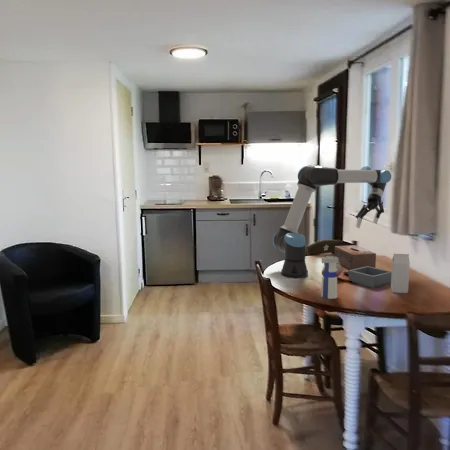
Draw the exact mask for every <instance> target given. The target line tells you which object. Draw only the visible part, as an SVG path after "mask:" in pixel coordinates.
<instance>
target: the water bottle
mask: <svg viewBox="0 0 450 450" xmlns="http://www.w3.org/2000/svg"><path fill="white" fill-rule="evenodd" d="M329 247H330V246H329V245H328V244H325V246H323V248H324V249H323V251H328V248H329ZM338 261H339V259H338V257H335V255H326V256H325V257H321V264H323V267H322V269H321V275H322V278H321V291H320V296H321V298H323V299H329V300H333V299H337V298H338V277H336V271H337V268H336V263H337V262H338Z"/></svg>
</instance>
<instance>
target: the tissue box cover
mask: <svg viewBox="0 0 450 450" xmlns="http://www.w3.org/2000/svg"><path fill="white" fill-rule="evenodd" d="M334 256H335V257H338V259H339V261H338V262H339V263H341V264H340V265H341V266H342V267H345V268H346V269H348V270H353V269H357V268H362V267H366V266H369V267H373V268H376V265H377V253H375V252H373V251H371V250H368V249H366V248H363V247H361V246H358V245H357V244H356V245H355V244H354V245H351V244H350V245H335V246H334Z"/></svg>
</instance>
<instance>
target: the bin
mask: <svg viewBox="0 0 450 450" xmlns="http://www.w3.org/2000/svg"><path fill="white" fill-rule="evenodd" d="M391 273H392V270H391V271H389V270H385V269H382V268H378V267H375V268H373V267H369V266H366V267H362V268H357V269H353V270H350V269H348V279H349V280H351V281H352V282H351V283H353V284H358V285H361V286H365V287H368V288H372V289H374V288H378V287H382V286H385V285H389V284H390V285H391ZM348 279H347V280H348Z"/></svg>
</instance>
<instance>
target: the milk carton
mask: <svg viewBox="0 0 450 450" xmlns="http://www.w3.org/2000/svg"><path fill="white" fill-rule="evenodd" d="M410 262H411V261H410V254H408V253H393V256H392V260H391V272H392V273H391V283H390V290H391V291H392V293H395V294H396V293H399V294H408V293H409V282H410V280H409V279H410Z"/></svg>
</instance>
